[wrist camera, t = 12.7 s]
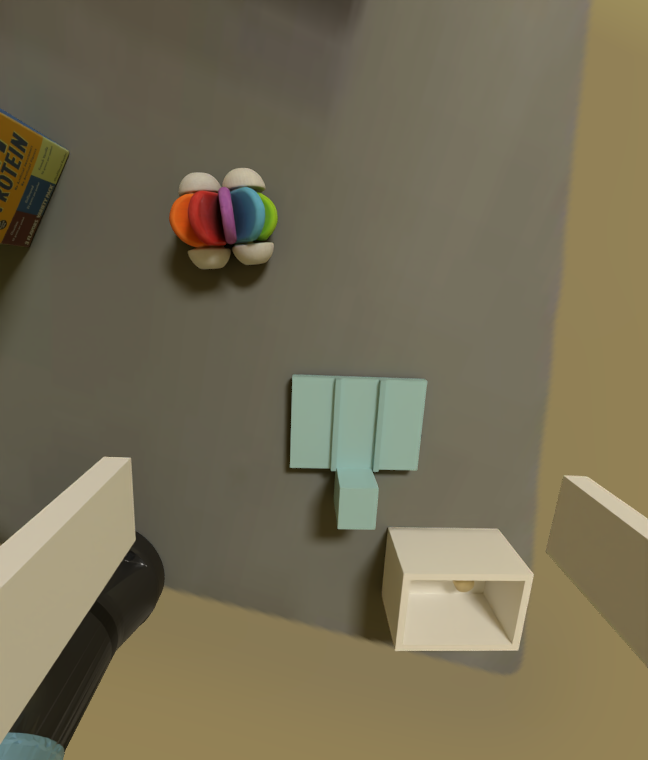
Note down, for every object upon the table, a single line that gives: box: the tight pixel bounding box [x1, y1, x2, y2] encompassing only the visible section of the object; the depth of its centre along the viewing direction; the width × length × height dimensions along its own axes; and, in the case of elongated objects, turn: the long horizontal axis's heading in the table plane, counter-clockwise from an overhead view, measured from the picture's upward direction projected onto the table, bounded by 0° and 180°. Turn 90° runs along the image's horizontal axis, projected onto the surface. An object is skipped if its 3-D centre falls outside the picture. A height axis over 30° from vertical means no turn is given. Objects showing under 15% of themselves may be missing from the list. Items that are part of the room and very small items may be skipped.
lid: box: [290, 375, 427, 530], centre depth 43 cm, size 15×15×6 cm
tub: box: [381, 527, 534, 651], centre depth 46 cm, size 14×10×8 cm
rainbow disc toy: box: [169, 168, 278, 269], centre depth 36 cm, size 8×10×7 cm
